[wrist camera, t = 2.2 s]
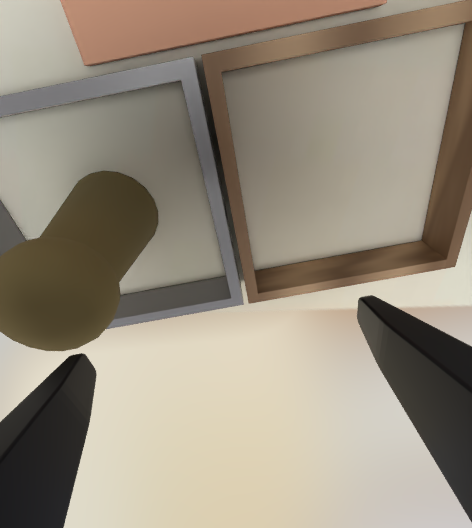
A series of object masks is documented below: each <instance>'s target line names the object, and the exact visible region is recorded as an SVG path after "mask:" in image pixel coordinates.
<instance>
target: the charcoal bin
mask: <svg viewBox="0 0 472 528" xmlns="http://www.w3.org/2000/svg"><path fill="white" fill-rule="evenodd" d="M177 81H181V82H182V86H183V90H184V95H185V99H186V103H187V108H188V112H189V116H190V121H191V125H192V129H193V134H194V138H195V142H196V147H197V151H198V155H199V160H200V164H201V168H202V173H203V177H204V181H205V186H206V190H207V194H208V199H209V203H210V207H211V212H212V216H213V220H214V225H215V229H216V233H217V238H218V242H219V246H220V251H221V255H222V259H223V264H224V268H225V272H226V276H225V277H219V278H214V279H208V280H203V281H197V282H192V283H186V284H181V285H175V286H170V287H164V288H159V289H153V290H148V291H142V292H137V293H131V294H126V295H120V301H119V305H118V308H117V311H116V314H115V316H114V319H113V321H112V322H111V323H110V325H109V326H108V327H107V328H106V329H110V328H115V327H121V326H126V325H132V324H138V323H143V322H149V321H154V320H160V319H165V318H171V317H177V316H182V315H188V314H194V313H199V312H205V311H210V310H216V309H222V308H227V307H233V306H238V305H244V303H243V296H242V289H241V282H240V277H239V272H238V267H237V262H236V257H235V252H234V247H233V242H232V237H231V232H230V228H229V223H228V218H227V213H226V208H225V203H224V198H223V193H222V188H221V183H220V178H219V173H218V168H217V163H216V158H215V153H214V148H213V143H212V138H211V133H210V128H209V123H208V118H207V113H206V108H205V103H204V98H203V93H202V88H201V83H200V78H199V74H198V69H197V64H196V60H195V59H194V57H188V58H184V59H179V60H174V61H169V62H164V63H159V64H154V65H150V66H145V67H140V68H135V69H130V70H125V71H121V72H116V73H111V74H106V75H101V76H96V77H91V78H87V79H82V80H77V81H72V82H67V83H62V84H57V85H53V86H48V87H43V88H38V89H33V90H28V91H23V92H19V93H14V94H9V95H4V96H0V117H5V116H10V115H15V114H20V113H25V112H30V111H35V110H40V109H44V108H49V107H54V106H59V105H64V104H69V103H74V102H79V101H84V100H89V99H94V98H98V97H103V96H108V95H113V94H118V93H123V92H128V91H133V90H138V89H143V88H148V87H152V86H157V85H162V84H167V83H172V82H177ZM25 241H26V240H25V238H24V237H23V235H22V233H21V232H20V230H19V229H18V227H17V226H16V224H15V222H14V221H13V219H12V218H11V216H10V215H9V213H8V212H7V210H6V208H5V207H4V205H3V204H2V202H1V201H0V256H1V255H2V254H4V253H5V252H7V251H8V250H10V249H11V248H13V247H14V246H16V245H18V244H19V243H22V242H25Z"/></svg>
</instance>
